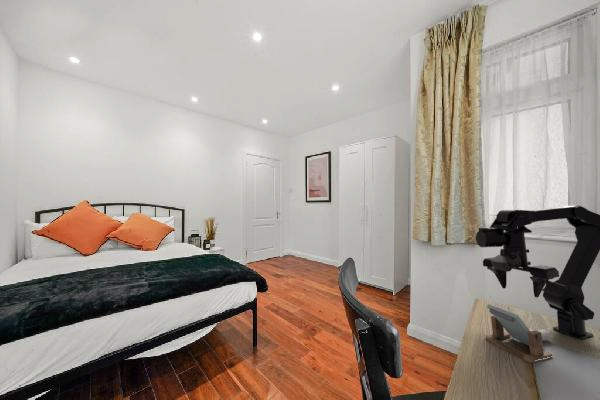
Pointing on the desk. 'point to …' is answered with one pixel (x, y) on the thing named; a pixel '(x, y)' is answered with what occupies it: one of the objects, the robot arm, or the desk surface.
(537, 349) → the flap frame
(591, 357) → the desk surface
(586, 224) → the robot arm
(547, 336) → the rook chess piece
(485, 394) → the desk surface
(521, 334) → the pivoting flap
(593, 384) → the desk surface
